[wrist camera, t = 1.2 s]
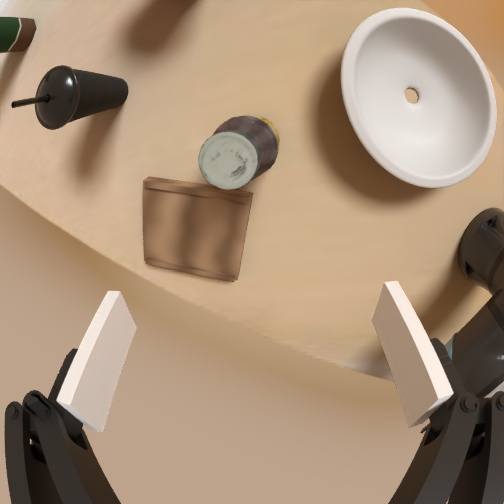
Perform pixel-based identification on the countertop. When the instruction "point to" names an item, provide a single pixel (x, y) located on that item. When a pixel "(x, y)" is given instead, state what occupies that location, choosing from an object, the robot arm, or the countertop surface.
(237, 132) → the sauce bottle
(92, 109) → the drinking cup
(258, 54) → the countertop surface
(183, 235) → the board
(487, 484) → the robot arm
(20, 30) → the beer bottle
